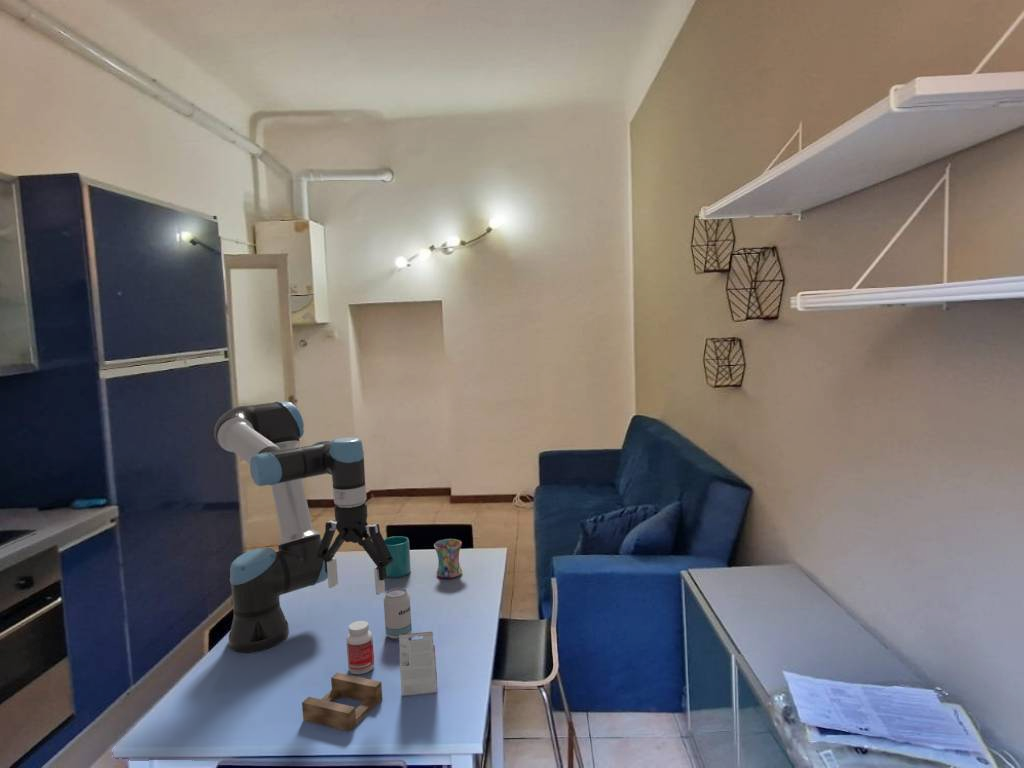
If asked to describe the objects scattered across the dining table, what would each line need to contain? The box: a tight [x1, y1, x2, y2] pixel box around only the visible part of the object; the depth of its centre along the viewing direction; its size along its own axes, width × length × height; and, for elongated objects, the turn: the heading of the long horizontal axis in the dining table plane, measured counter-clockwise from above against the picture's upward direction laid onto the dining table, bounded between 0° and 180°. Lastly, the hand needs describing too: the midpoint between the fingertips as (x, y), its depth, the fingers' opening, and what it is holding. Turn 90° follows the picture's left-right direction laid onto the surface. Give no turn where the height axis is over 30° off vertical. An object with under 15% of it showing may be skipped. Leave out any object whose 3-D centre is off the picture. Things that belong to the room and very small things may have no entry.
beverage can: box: [383, 587, 413, 640], centre depth 167 cm, size 7×7×12 cm
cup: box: [383, 535, 412, 578], centre depth 211 cm, size 9×12×11 cm
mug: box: [433, 538, 463, 579], centre depth 205 cm, size 12×9×11 cm
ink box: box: [398, 631, 438, 697], centre depth 141 cm, size 4×8×15 cm, turn 96°
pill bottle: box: [346, 620, 375, 675], centre depth 151 cm, size 6×6×11 cm
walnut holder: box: [301, 672, 383, 733], centre depth 136 cm, size 12×12×4 cm
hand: (356, 589), depth 150 cm, fingers open, 13 cm apart
